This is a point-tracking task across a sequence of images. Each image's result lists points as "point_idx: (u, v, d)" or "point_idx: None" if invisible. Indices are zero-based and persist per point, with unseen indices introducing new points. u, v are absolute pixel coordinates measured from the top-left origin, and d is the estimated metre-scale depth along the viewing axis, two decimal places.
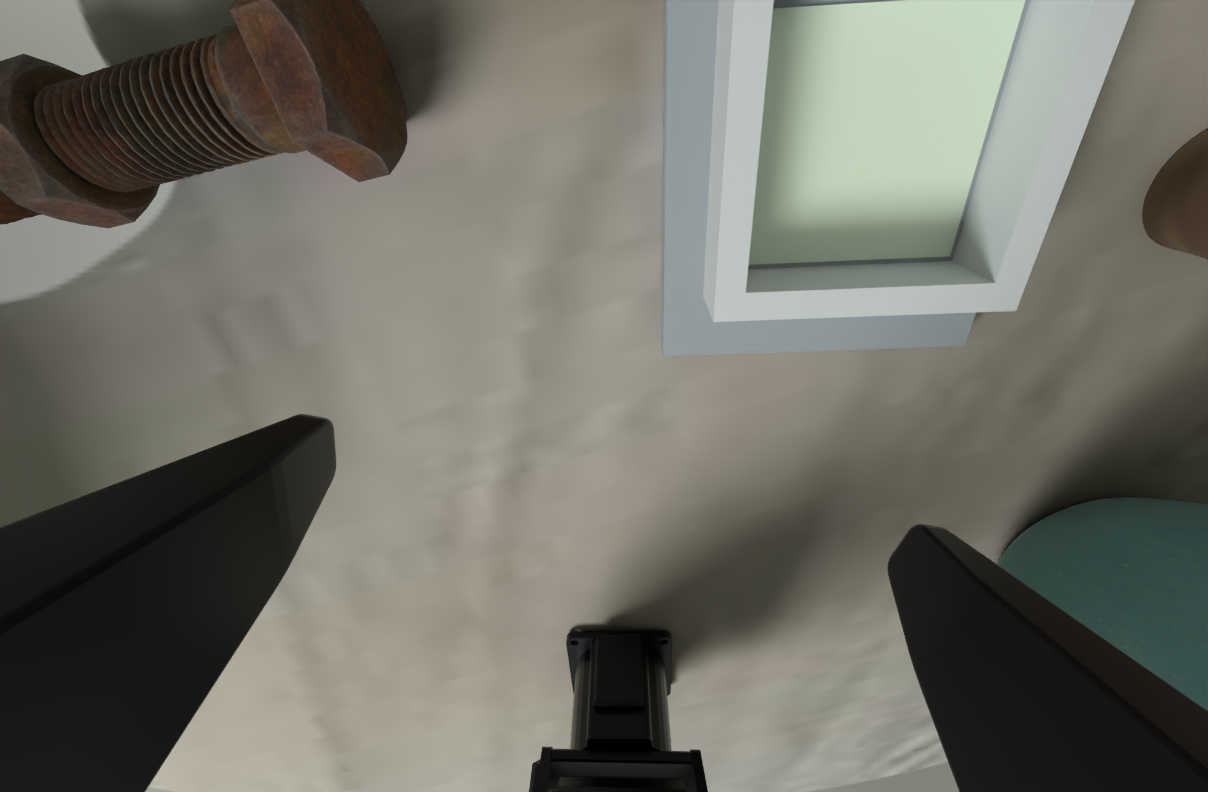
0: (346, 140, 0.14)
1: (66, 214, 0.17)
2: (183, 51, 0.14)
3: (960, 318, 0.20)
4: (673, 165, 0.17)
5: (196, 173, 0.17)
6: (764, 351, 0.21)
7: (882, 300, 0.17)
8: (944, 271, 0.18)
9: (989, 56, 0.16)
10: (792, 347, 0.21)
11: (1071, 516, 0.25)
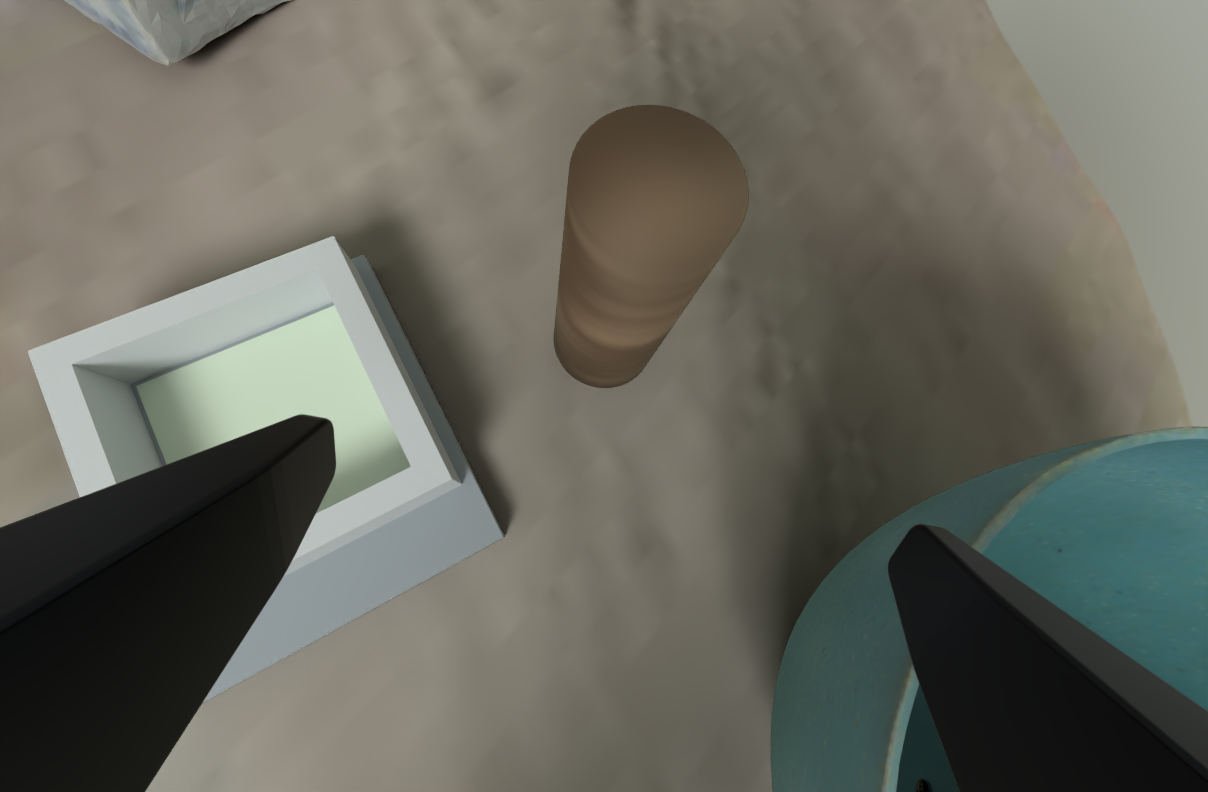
0: None
1: None
2: None
3: (476, 515, 0.20)
4: None
5: None
6: (292, 651, 0.18)
7: (313, 530, 0.16)
8: None
9: (339, 341, 0.20)
10: (321, 629, 0.18)
11: None
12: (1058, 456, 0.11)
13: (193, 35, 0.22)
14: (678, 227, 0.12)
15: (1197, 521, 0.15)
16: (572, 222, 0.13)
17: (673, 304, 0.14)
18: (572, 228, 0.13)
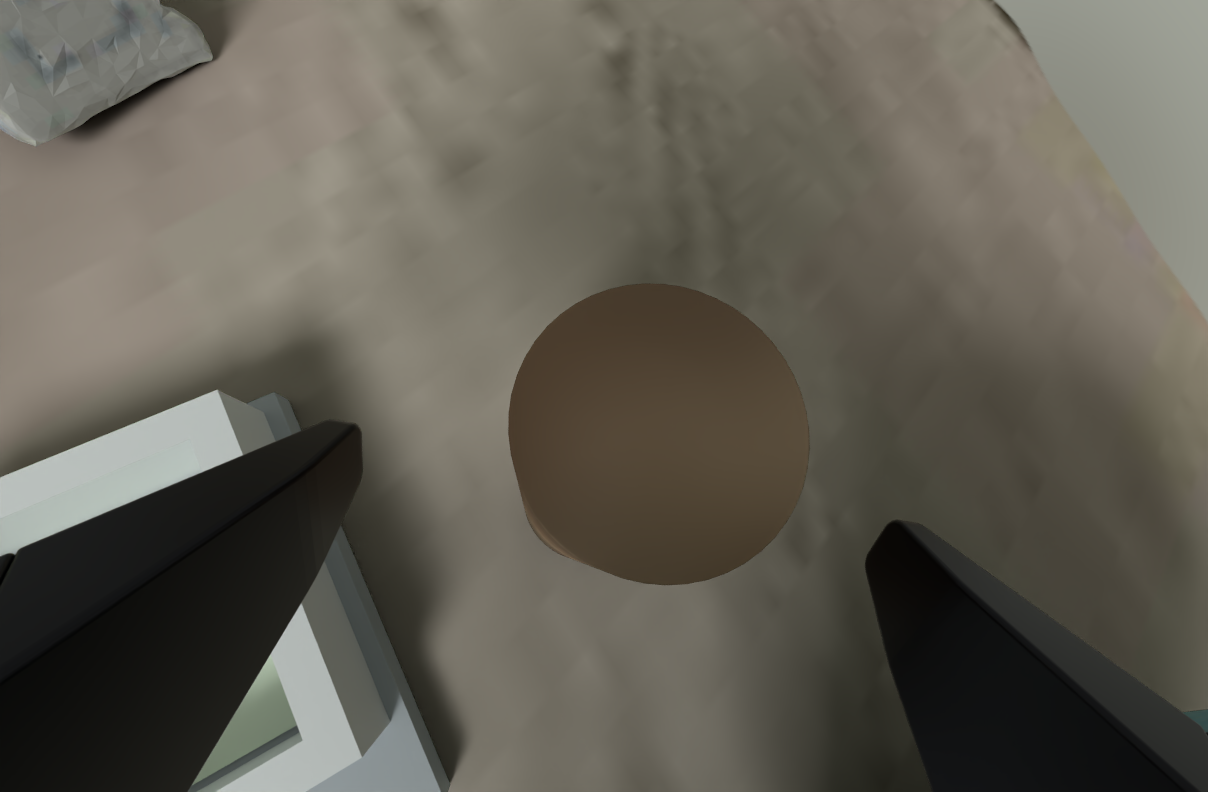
0: None
1: None
2: None
3: (408, 768, 0.14)
4: None
5: None
6: None
7: None
8: (290, 741, 0.13)
9: None
10: None
11: None
12: None
13: (69, 109, 0.18)
14: (693, 507, 0.07)
15: None
16: None
17: None
18: (519, 484, 0.08)
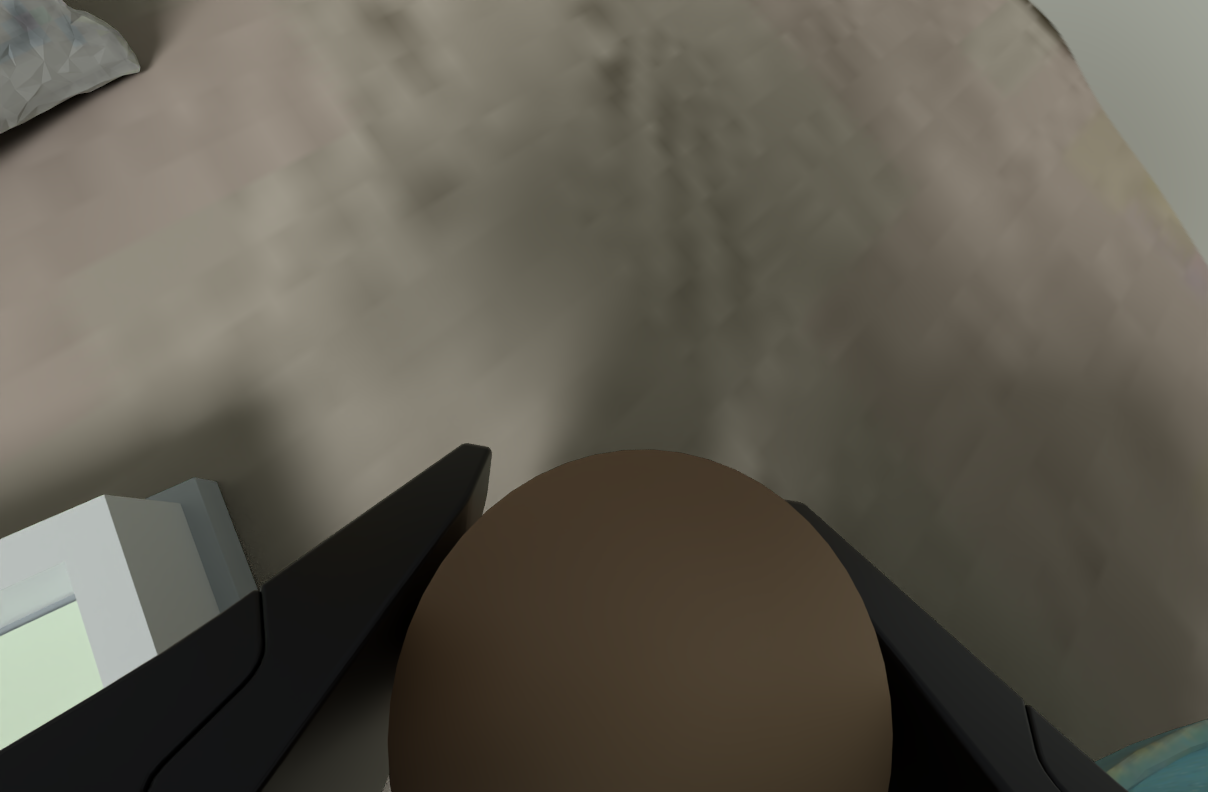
0: None
1: None
2: None
3: None
4: None
5: None
6: None
7: None
8: None
9: None
10: None
11: None
12: (1112, 759, 0.07)
13: None
14: None
15: None
16: None
17: None
18: None
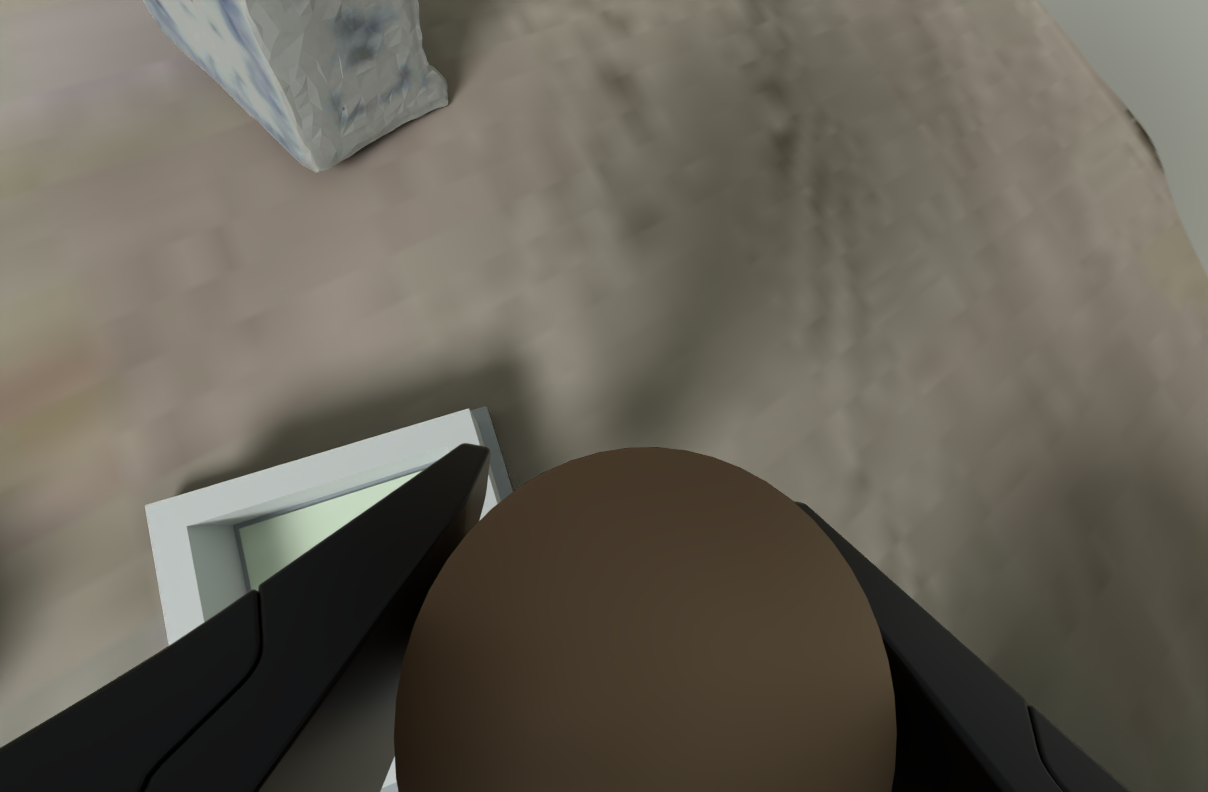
0: None
1: None
2: None
3: None
4: None
5: None
6: None
7: None
8: None
9: None
10: None
11: None
12: None
13: (347, 146, 0.21)
14: None
15: None
16: None
17: None
18: None
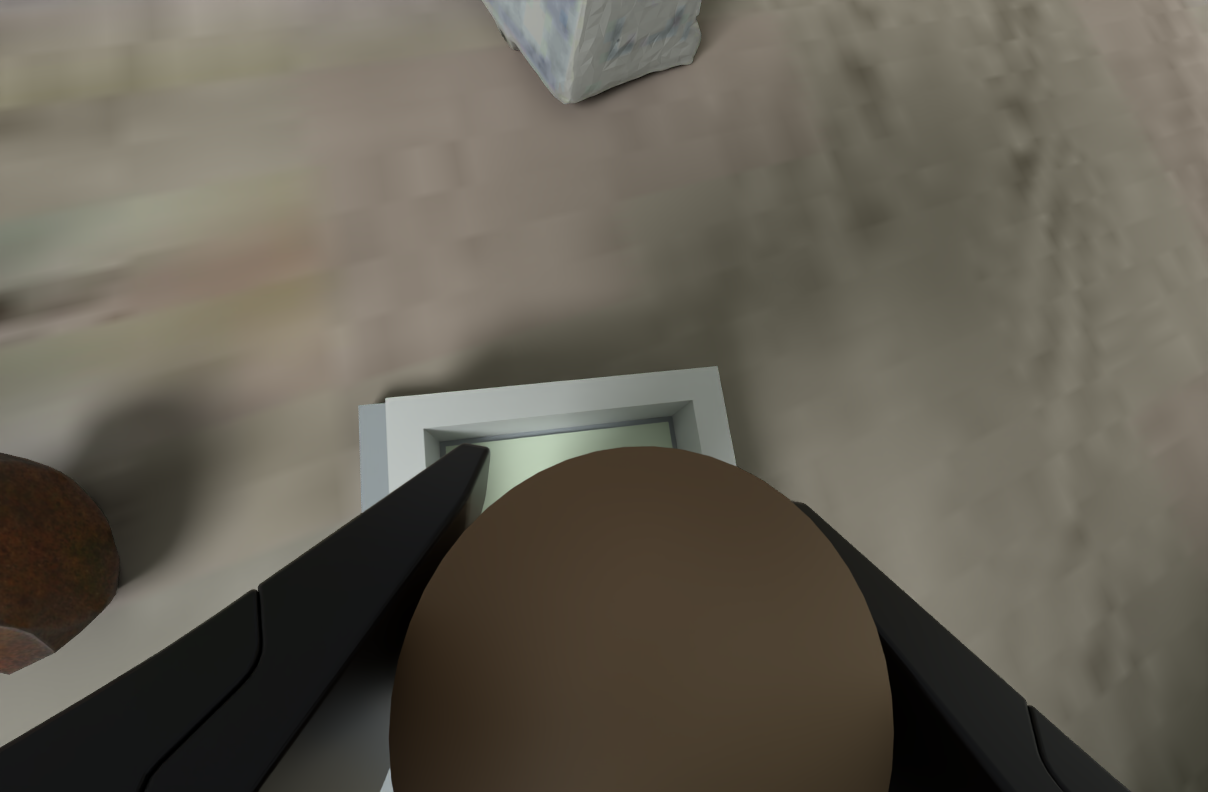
0: None
1: None
2: None
3: None
4: None
5: None
6: None
7: None
8: None
9: None
10: None
11: None
12: None
13: (601, 82, 0.21)
14: None
15: None
16: None
17: None
18: None
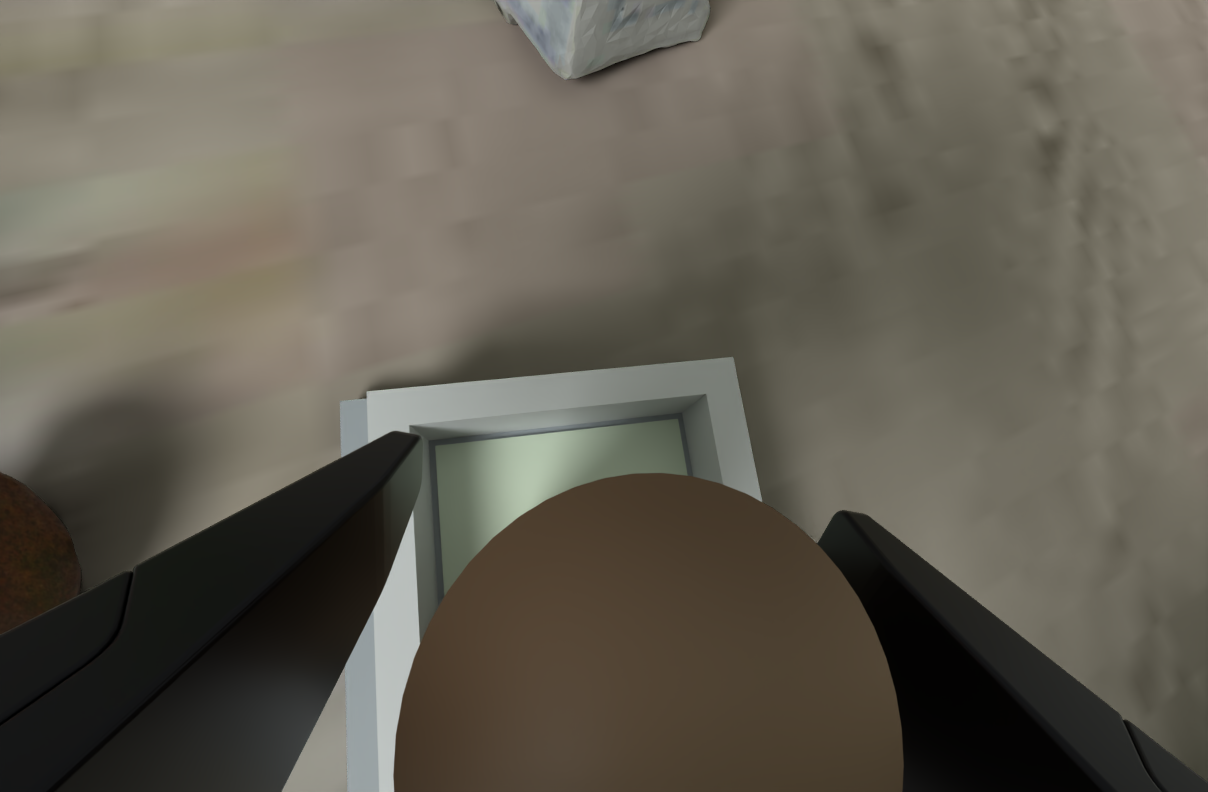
0: None
1: None
2: None
3: None
4: None
5: None
6: None
7: None
8: None
9: (668, 467, 0.16)
10: None
11: None
12: None
13: (604, 56, 0.19)
14: None
15: None
16: None
17: None
18: None
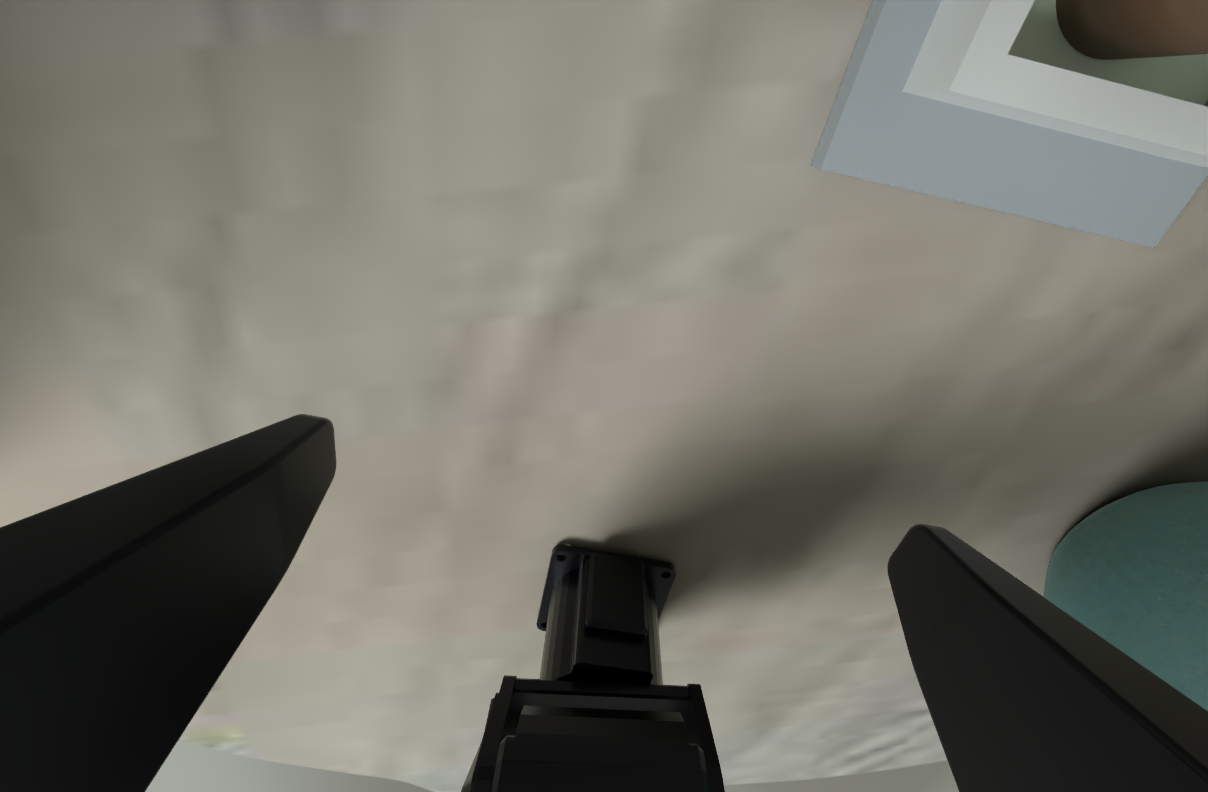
0: None
1: None
2: None
3: (1166, 208, 0.17)
4: None
5: None
6: (939, 195, 0.17)
7: (1155, 116, 0.13)
8: None
9: None
10: (972, 197, 0.17)
11: (1172, 491, 0.22)
12: None
13: None
14: None
15: None
16: None
17: None
18: None
